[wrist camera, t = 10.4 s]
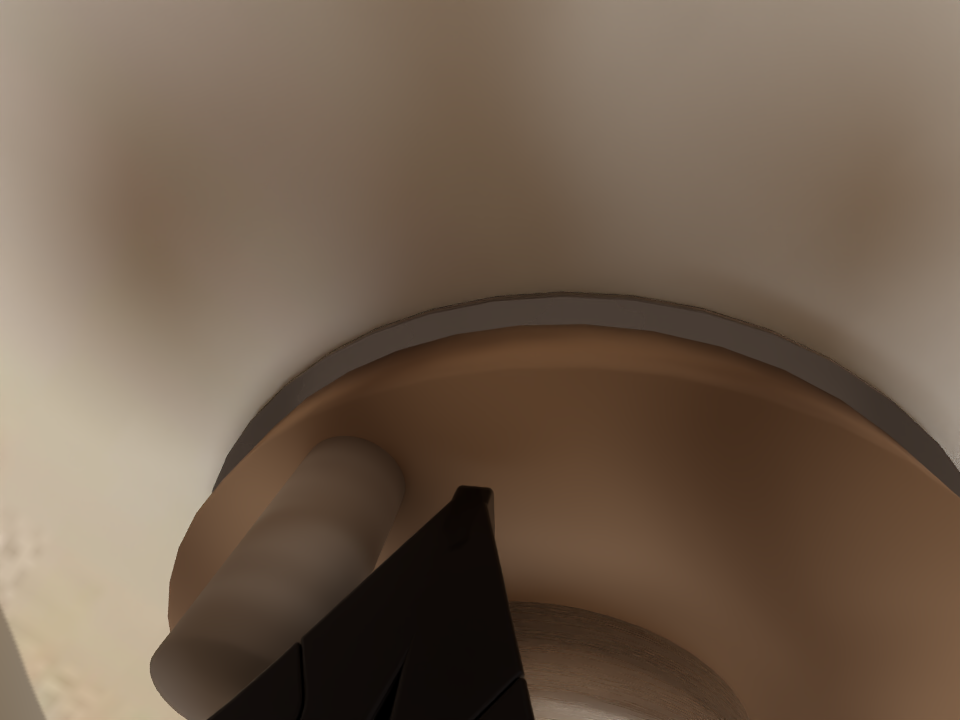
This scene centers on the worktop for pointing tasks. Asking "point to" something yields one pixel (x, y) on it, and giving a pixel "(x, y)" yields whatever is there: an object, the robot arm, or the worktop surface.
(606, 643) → the cover
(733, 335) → the turntable stand
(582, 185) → the worktop surface
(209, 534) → the turntable
